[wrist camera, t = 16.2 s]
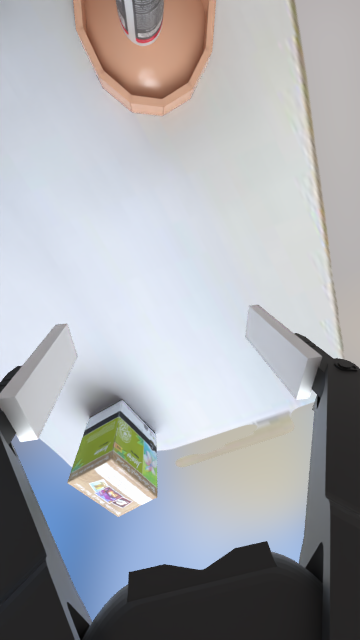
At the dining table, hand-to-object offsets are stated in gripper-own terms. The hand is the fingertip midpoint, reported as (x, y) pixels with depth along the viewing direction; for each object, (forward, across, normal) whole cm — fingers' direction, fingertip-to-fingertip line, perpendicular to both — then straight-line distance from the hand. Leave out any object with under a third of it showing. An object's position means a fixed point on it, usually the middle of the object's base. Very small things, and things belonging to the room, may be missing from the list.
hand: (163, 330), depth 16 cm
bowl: (+26, +2, +28) cm, 39 cm away
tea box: (+24, -11, -39) cm, 47 cm away
